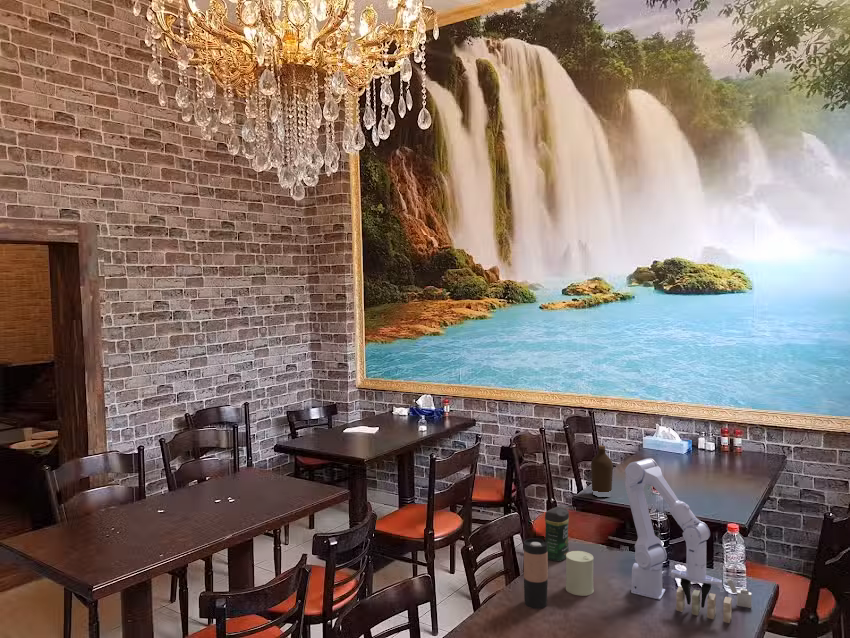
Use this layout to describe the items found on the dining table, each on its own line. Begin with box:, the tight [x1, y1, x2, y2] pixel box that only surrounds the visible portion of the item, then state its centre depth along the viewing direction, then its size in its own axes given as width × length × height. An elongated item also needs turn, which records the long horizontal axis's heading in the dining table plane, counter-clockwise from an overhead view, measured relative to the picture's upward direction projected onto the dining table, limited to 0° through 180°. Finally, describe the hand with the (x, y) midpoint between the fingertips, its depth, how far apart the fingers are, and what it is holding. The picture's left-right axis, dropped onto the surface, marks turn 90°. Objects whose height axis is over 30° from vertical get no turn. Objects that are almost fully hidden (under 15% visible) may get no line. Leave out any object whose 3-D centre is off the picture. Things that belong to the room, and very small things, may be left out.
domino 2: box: [691, 589, 701, 616], centre depth 199 cm, size 2×4×6 cm, turn 148°
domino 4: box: [722, 596, 733, 624], centre depth 194 cm, size 2×4×6 cm, turn 148°
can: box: [565, 550, 595, 597], centre depth 214 cm, size 9×9×12 cm
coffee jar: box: [544, 506, 570, 562], centre depth 241 cm, size 10×8×19 cm
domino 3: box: [706, 592, 717, 620], centre depth 196 cm, size 2×4×6 cm, turn 148°
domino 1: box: [675, 585, 686, 613], centre depth 201 cm, size 2×4×6 cm, turn 148°
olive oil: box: [590, 444, 614, 492], centre depth 316 cm, size 11×11×25 cm
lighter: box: [726, 578, 752, 609], centre depth 203 cm, size 7×2×8 cm, turn 66°
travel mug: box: [523, 537, 549, 610], centre depth 204 cm, size 8×8×20 cm
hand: (695, 604), depth 199 cm, fingers open, 3 cm apart
